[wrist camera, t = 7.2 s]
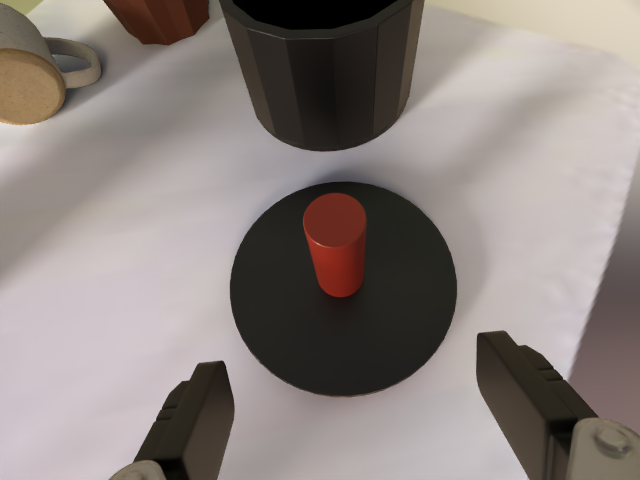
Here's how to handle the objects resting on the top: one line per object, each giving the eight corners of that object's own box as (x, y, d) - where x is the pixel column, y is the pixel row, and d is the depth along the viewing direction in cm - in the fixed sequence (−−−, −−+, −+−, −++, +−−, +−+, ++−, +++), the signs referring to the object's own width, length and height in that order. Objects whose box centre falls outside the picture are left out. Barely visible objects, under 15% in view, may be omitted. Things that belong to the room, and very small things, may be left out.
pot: (320, 180, 29) (304, 73, 20) (224, 90, 35) (177, -27, 26) (441, 89, 32) (474, -39, 23) (336, 18, 38) (330, -109, 29)
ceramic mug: (13, 146, 34) (-73, 73, 27) (-13, 96, 37) (-96, 20, 30) (121, 87, 36) (67, 7, 29) (88, 45, 39) (33, -36, 32)
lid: (329, 456, 21) (314, 473, 13) (194, 273, 27) (129, 212, 19) (501, 289, 24) (568, 226, 17) (349, 157, 30) (346, 65, 22)
